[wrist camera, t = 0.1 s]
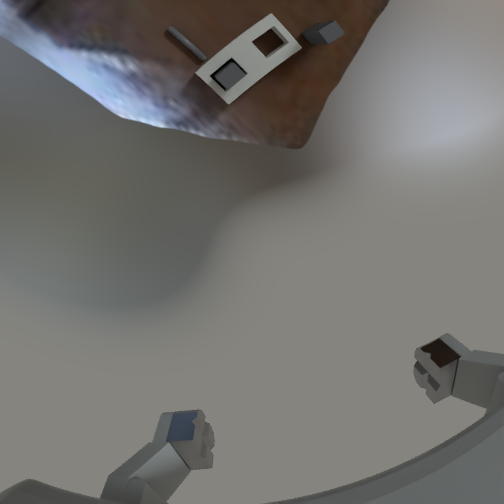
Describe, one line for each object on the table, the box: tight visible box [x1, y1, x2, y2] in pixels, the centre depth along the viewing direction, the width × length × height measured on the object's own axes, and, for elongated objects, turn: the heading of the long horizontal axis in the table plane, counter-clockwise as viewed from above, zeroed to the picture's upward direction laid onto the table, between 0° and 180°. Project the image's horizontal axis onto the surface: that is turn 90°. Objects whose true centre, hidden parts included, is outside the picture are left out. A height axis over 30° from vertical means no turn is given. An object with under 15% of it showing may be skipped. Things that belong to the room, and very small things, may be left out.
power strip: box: [167, 14, 302, 105], centre depth 38 cm, size 20×18×8 cm
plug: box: [302, 21, 345, 44], centre depth 39 cm, size 3×4×9 cm
